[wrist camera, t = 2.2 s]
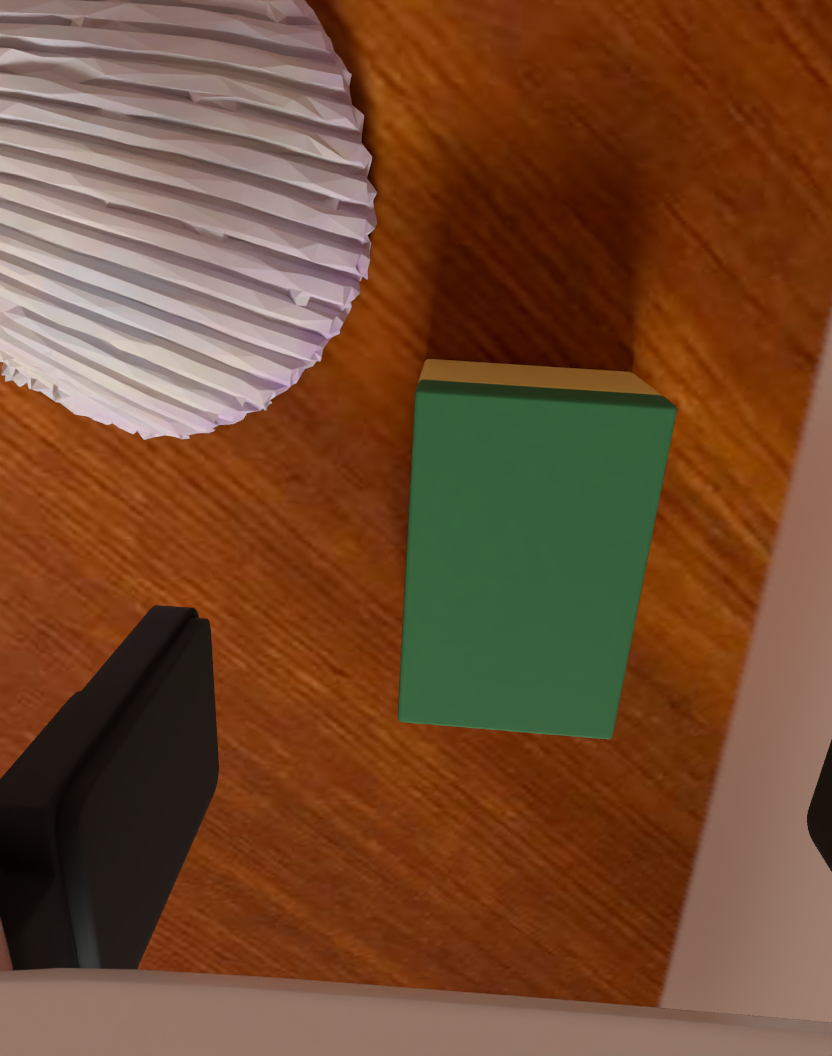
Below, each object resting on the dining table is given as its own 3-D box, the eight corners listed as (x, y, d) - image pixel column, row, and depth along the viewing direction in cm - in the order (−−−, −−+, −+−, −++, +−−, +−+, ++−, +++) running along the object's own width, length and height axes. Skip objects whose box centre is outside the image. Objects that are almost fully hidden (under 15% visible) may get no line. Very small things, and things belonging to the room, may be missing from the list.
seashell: (-366, -316, 10) (298, -292, 8) (-30, -109, 15) (425, -64, 13) (-244, 409, 13) (227, 546, 11) (-9, 376, 18) (347, 468, 16)
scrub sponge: (425, 357, 16) (414, 388, 12) (633, 371, 15) (679, 405, 12) (408, 638, 18) (396, 723, 15) (585, 652, 18) (613, 741, 15)
